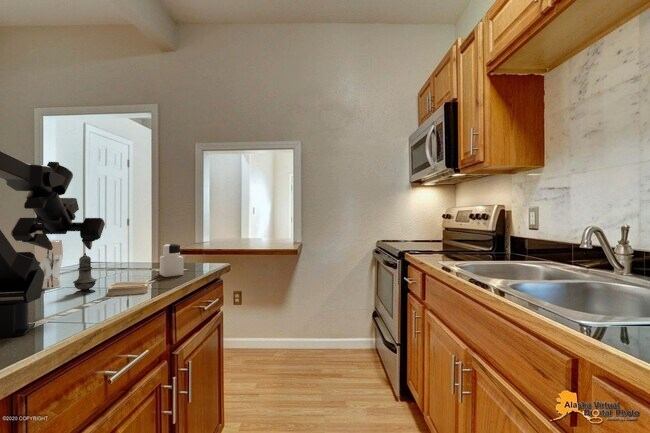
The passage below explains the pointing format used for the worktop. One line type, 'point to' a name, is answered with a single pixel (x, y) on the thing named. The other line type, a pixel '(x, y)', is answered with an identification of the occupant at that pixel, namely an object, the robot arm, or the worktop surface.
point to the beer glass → (50, 263)
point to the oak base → (128, 288)
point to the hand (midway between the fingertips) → (71, 248)
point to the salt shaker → (84, 277)
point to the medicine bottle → (171, 261)
